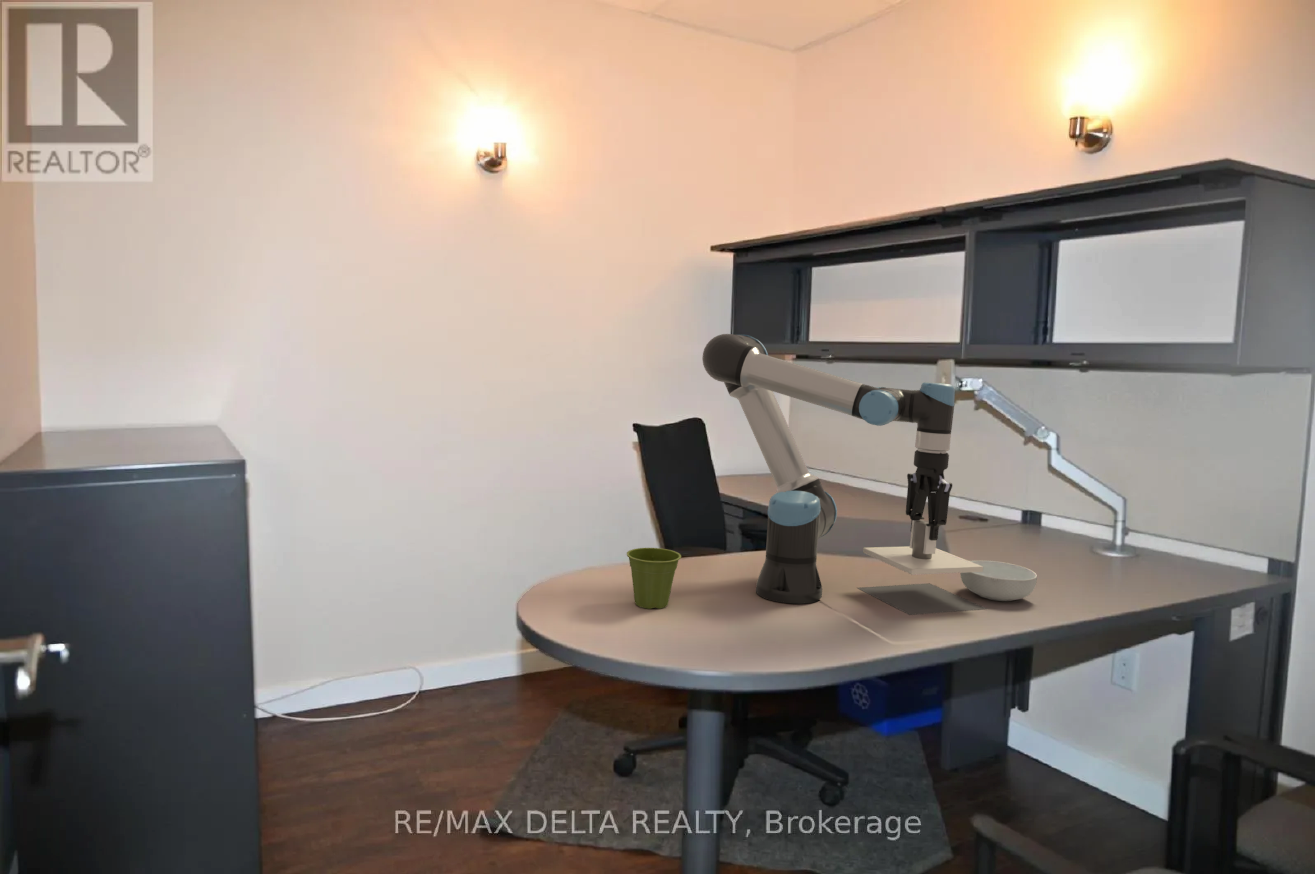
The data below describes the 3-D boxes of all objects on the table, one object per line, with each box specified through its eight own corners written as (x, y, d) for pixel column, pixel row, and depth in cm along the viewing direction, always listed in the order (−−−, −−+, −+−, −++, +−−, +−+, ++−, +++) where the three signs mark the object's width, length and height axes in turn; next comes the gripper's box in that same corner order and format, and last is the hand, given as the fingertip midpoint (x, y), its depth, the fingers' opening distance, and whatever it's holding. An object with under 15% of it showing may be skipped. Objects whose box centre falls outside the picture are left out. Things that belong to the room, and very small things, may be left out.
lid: (911, 574, 187) (915, 533, 186) (863, 552, 205) (866, 514, 204) (982, 571, 193) (986, 531, 192) (929, 550, 211) (933, 513, 210)
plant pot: (620, 610, 182) (622, 558, 181) (629, 594, 194) (631, 545, 192) (675, 615, 180) (677, 562, 179) (681, 599, 192) (684, 549, 191)
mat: (909, 616, 186) (909, 614, 186) (856, 589, 206) (856, 587, 206) (988, 611, 194) (988, 608, 193) (929, 585, 213) (929, 583, 213)
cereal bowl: (945, 595, 205) (948, 566, 204) (976, 584, 217) (979, 556, 216) (1017, 613, 193) (1020, 582, 192) (1045, 600, 205) (1048, 571, 204)
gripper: (971, 456, 189) (960, 560, 192) (922, 445, 205) (912, 541, 208) (943, 456, 187) (932, 561, 189) (895, 445, 203) (886, 541, 206)
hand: (922, 550), depth 199 cm, fingers closed on lid, 4 cm apart
